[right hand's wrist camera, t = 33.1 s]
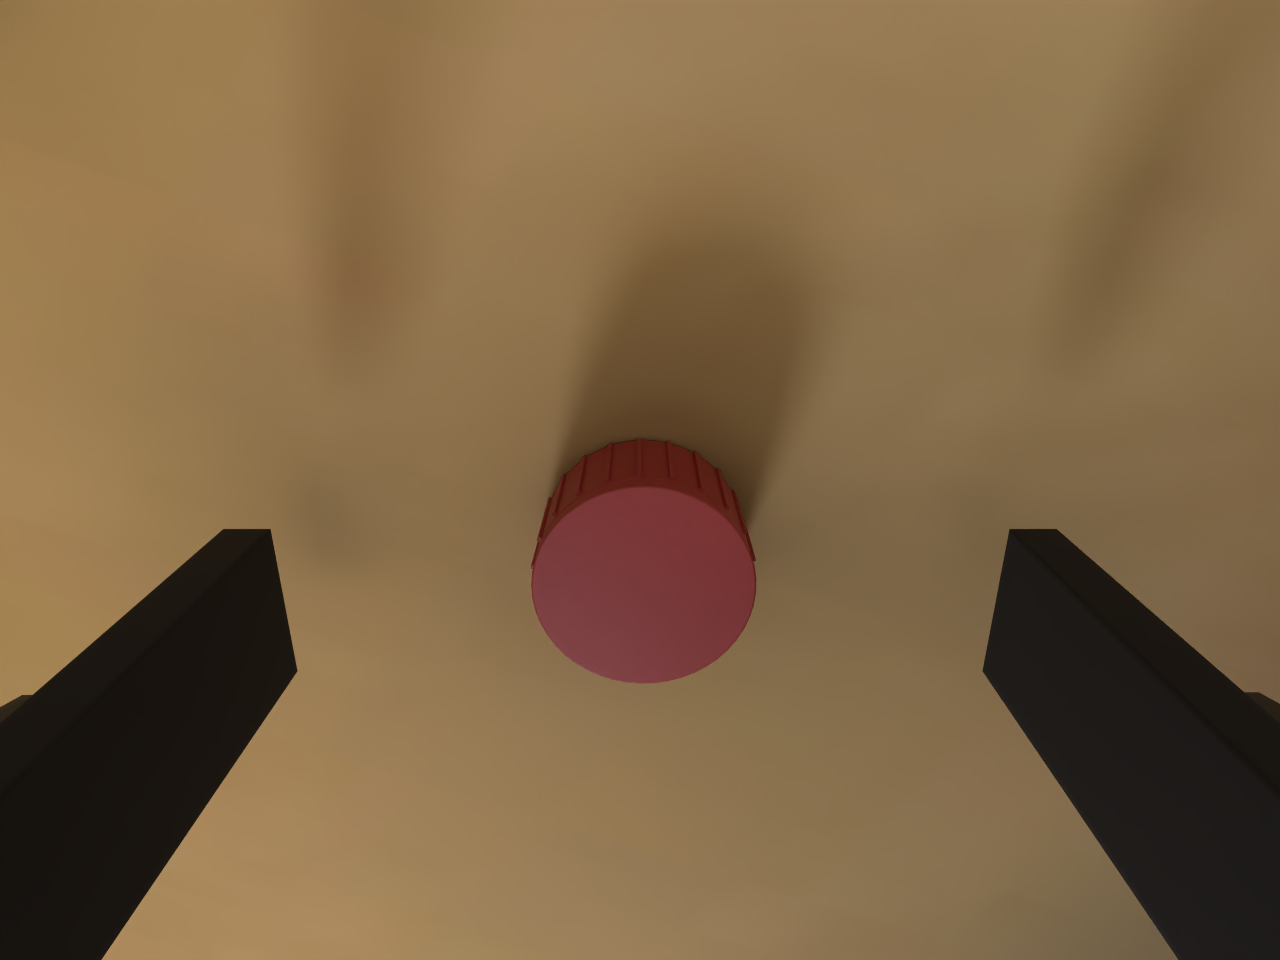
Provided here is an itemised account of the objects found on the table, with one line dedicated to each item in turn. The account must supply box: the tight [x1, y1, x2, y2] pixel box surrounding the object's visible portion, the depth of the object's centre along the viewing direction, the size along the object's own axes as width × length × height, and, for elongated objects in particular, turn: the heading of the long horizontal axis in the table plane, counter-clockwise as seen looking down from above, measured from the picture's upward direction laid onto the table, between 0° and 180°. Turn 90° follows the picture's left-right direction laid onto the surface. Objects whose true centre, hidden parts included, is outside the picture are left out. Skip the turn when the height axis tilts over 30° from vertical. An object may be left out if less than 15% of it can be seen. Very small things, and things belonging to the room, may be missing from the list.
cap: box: [531, 438, 756, 683], centre depth 15 cm, size 4×4×2 cm
